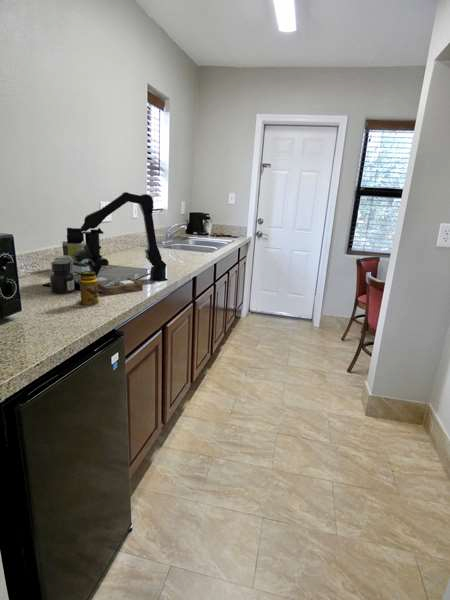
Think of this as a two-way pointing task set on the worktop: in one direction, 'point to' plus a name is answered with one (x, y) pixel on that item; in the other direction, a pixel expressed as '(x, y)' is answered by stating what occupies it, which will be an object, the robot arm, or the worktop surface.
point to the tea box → (68, 251)
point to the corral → (120, 288)
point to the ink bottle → (61, 278)
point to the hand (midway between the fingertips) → (94, 278)
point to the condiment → (88, 290)
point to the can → (66, 258)
